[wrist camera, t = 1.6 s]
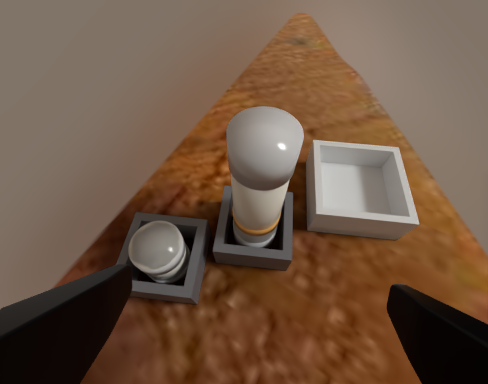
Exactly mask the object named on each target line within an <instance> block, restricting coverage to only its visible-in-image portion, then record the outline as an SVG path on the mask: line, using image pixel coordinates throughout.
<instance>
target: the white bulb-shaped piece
mask: <svg viewBox="0 0 488 384" xmlns="http://www.w3.org/2000/svg"><path fill="white" fill-rule="evenodd" d="M226 135H227V149H228V163H229V170H230V172H231V182H232V198H233V232H234V240H235V242H236V244H237V245H239V246H248V247H257V248H265V249H269V248H270V247H271V245H272V244H273V241H274V238H275V235H276V231H277V227H278V222H279V219H280V215H281V209H282V206H283V202H284V199H285V195H286V191H287V188H288V184H289V181H290V179H291V177H292V175H293V173H294V170H295V167H296V163H297V160H298V156H299V153H300V150H301V146H302V143H303V138H304V134H303V129H302V127H301V125H300V123H299V122H298V121H297V119H296V118H294V117H293V116H292V115H291V114H289V113H287V112H286V111H283V110H281V109H278V108H274V107H266V106H261V107H253V108H249V109H246V110H243V111H241V112H240V113H238V114H237V115H235V116H234V117H233V118H232V119H231V121H230V122H229V124H228V127H227V131H226Z"/></svg>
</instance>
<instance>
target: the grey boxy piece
mask: <svg viewBox="0 0 488 384" xmlns="http://www.w3.org/2000/svg"><path fill="white" fill-rule="evenodd" d="M153 221H167V222H170V223H172V224H173V225H175V226H176V227H177V228H178V230H179V231H180V233H181V235H182V237H183V238H189V239H194V244H193V248H192V252H191V257H190V261H189V266H188V270H187V274H186V279H185V283H184V287H183V286H175V285H167V284H158V283H150V282H142V281H137V280H138V277H139V274H140V271H141V270H140V269H139V268H137V267H136V266H135V265H134V264H133V263H132V261H131V260H130V257H129V252H128V250H129V244H130V241H131V238H132V237H133V235H134V234H135V232H136V231H137V230H138V229H140V228H141V227H142V226H144V225H145V224H147V223H150V222H153ZM210 238H211V231H210V227H209V223H208V220H205V219H196V218H187V217H178V216H168V215H159V214H150V213H140V212H136V213H135V216H134V218H133V221H132V224H131V226H130V229H129V232H128V234H127V237H126V240H125V242H124V245H123V247H122V250H121V253H120V255H119V258H118V261H117V263H116V265H117V264H127V265H130V266H131V269H132V292H131V294H130V296H134V297H142V298H149V299H157V300H165V301H173V302H181V303H189V304H198V299H199V294H200V289H201V284H202V279H203V274H204V268H205V263H206V258H207V253H208V248H209V243H210Z"/></svg>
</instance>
